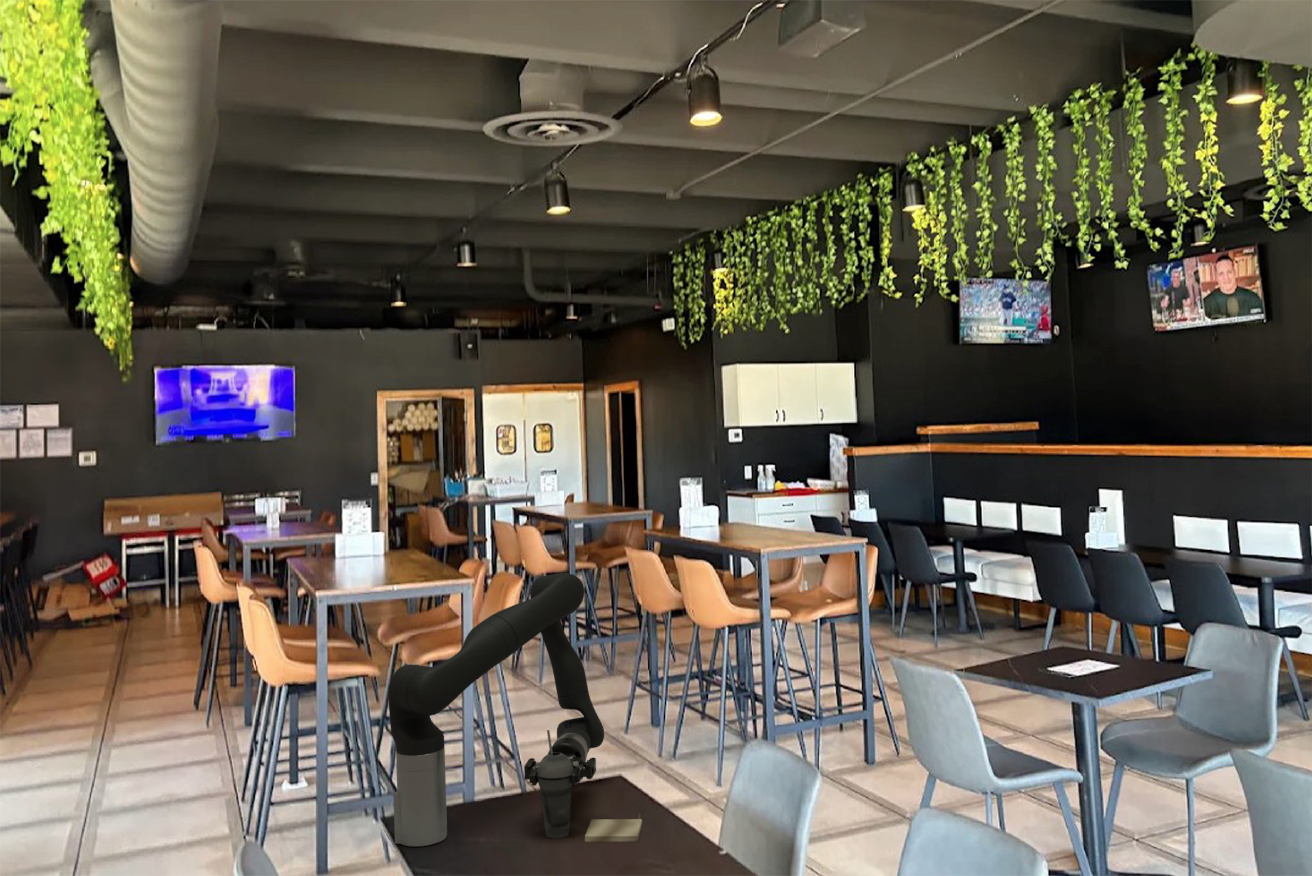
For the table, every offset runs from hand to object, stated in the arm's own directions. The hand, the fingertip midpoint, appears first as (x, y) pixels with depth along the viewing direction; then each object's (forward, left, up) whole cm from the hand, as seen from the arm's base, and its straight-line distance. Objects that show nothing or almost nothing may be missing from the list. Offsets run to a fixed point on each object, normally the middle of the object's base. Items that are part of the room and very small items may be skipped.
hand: (553, 780), depth 196 cm
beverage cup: (0, +2, -11) cm, 11 cm away
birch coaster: (+11, +3, -11) cm, 16 cm away
